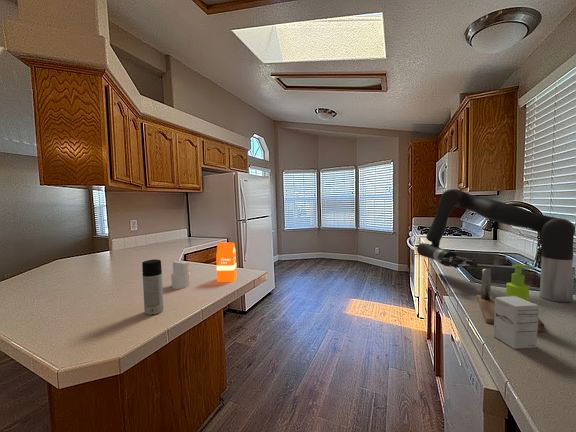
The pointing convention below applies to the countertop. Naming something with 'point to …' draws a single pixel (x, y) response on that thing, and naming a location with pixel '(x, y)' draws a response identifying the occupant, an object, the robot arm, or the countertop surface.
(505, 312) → the supplement box
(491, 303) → the base with upright cylinder
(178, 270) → the white lidded jar
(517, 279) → the soap dispenser
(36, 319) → the countertop surface
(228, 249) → the orange juice
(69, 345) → the countertop surface
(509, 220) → the robot arm
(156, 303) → the spray can
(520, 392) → the countertop surface
